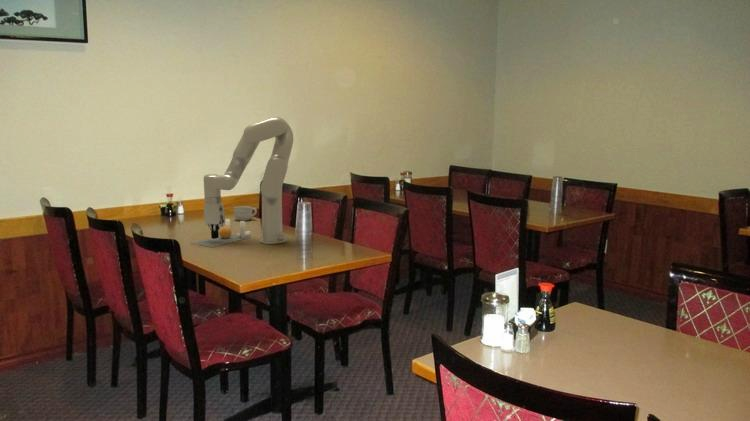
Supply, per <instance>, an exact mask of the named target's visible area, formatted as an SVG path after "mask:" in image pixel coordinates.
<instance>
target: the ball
mask: <svg viewBox="0 0 750 421" xmlns="http://www.w3.org/2000/svg"><path fill="white" fill-rule="evenodd" d="M218 233H219V237H222V238H224V239H226V238H229V237H230V236H231V234H232V229H231V227H230V228H229V227H225V226H223V227H220V228H219V230H218Z"/></svg>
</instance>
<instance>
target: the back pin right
mask: <svg viewBox="0 0 750 421" xmlns="http://www.w3.org/2000/svg"><path fill="white" fill-rule="evenodd" d="M224 224H225V225H224V227H229V228H230V229H231V219H230V218H225V223H224Z"/></svg>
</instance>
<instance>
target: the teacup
mask: <svg viewBox="0 0 750 421" xmlns="http://www.w3.org/2000/svg"><path fill="white" fill-rule="evenodd" d="M253 210H254V213H253ZM257 210H258V209H257V208H256V207H253V206H249V205H247V206H246V205H241V206H234V207H233V216H234V218H235V219H236V221H239V222H240V221H245V222H246V221H250V220H251V219H252V218H253V217H254V216H256V215H257V213H258V211H257Z"/></svg>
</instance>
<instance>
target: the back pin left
mask: <svg viewBox="0 0 750 421" xmlns="http://www.w3.org/2000/svg"><path fill="white" fill-rule="evenodd" d="M245 232H246V221H239V233H240V238H245Z"/></svg>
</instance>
